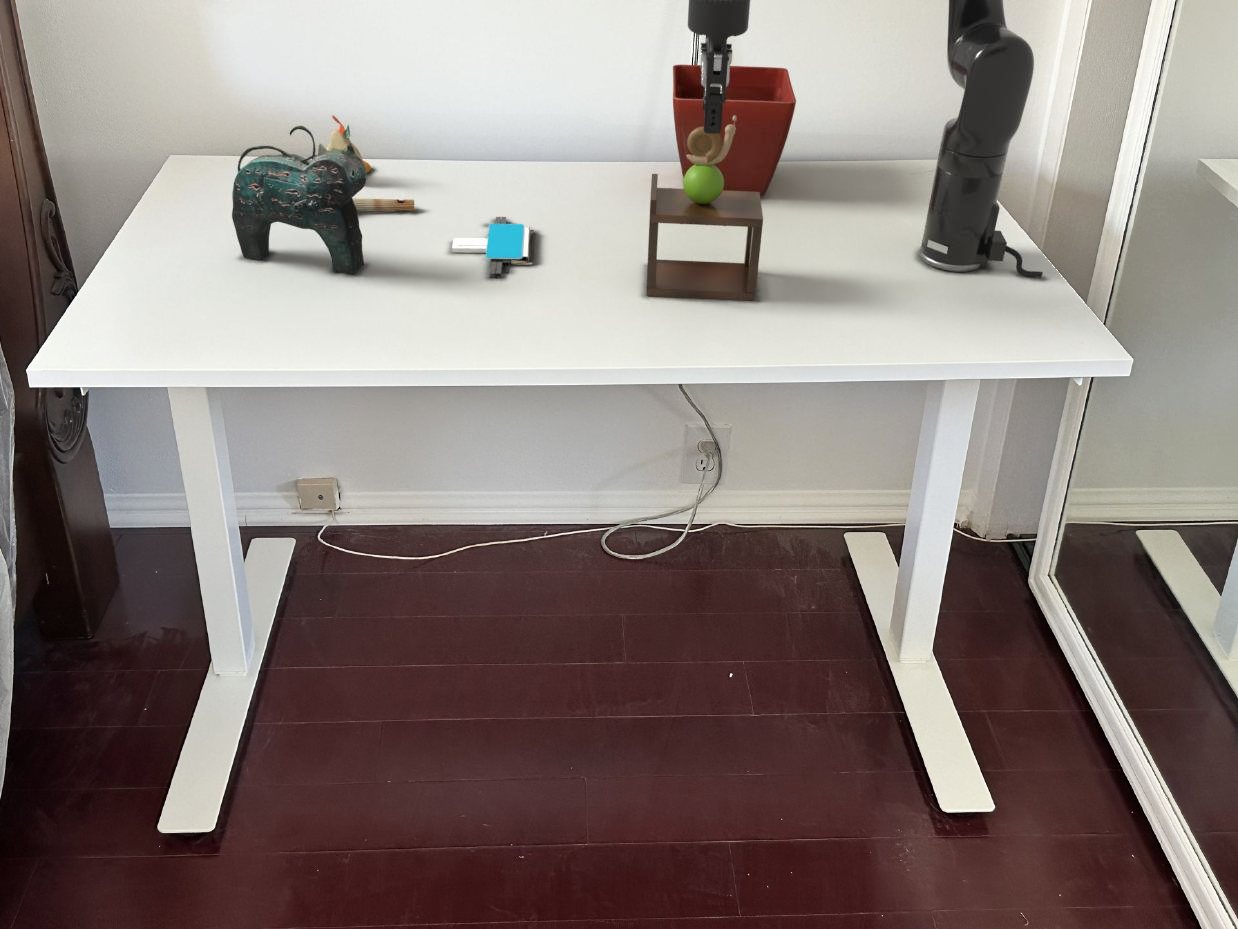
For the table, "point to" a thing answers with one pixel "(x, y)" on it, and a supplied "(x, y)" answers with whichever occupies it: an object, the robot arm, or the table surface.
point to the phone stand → (501, 246)
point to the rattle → (343, 141)
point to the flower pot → (739, 121)
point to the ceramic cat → (301, 201)
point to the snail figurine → (706, 164)
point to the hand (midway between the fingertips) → (711, 121)
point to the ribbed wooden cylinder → (383, 204)
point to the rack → (701, 275)
